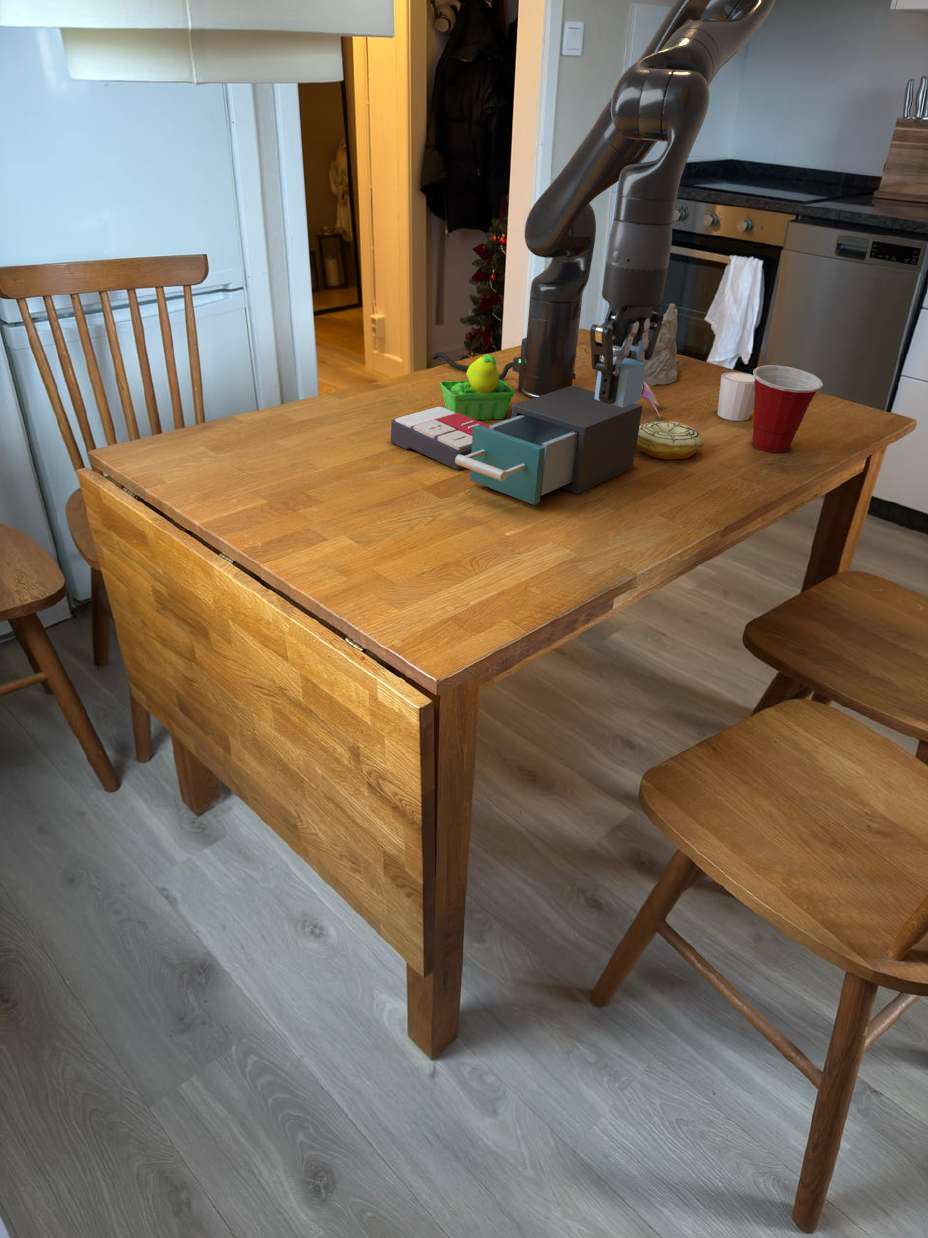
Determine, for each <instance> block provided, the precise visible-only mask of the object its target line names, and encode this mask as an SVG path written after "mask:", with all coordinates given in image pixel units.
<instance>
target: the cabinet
mask: <svg viewBox="0 0 928 1238" xmlns="http://www.w3.org/2000/svg"><path fill="white" fill-rule="evenodd" d="M594 398H595V391H594V390H591V389H590V390H589V389H586V388H583V387H579V386H576V385H574V384H573V385H572V386H569V387H566V388H563V389H560V390H557V391H554V392H551V393H548V394H545V395H542V396H539V397H536V398H529V399H526V400H524V401H520V402H518V403H515V404H512V408H511V410H512V411H511V418H514V417H517V416H520V415H523V414H524V415H527V416H530V417H533V418H536V419H539V420H543V421H546V422H549V423H552V424H555V425H558V426H561V427H564V428H568V429H571V430H574V431H577V432H580V433H579V439H578V448H577V456H576V464H575V473H574V481H573V482H570V483H568V484H566V485H564V486H561V487H559V488H558V489H563V490H564V491H567V492H570V493H573V494H576V495H579V494H581V493H582V492H585V491H587V490H589V489H591V488H593V487H595V486H597V485H598V486H599V485H600V484H602V483H603V482H606V481H608V480H610V479H612V478H614V477H617V476H618V475H621V474H623V473H625V472H627V471H629V470H631V469H634V465H635V458H636V453H637V452H636V450H637V447H638V446H637V439H638V433H639V426H641V419H642V413H643V405H642V404H640V403H639V404H638V403H636V402H635V403H633V404H630V405H628V406H625V407H623V408H622V407H619V406H615V405H612V404H608V403H604V402H601V401H598V400H595V399H594Z"/></svg>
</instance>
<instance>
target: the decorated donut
mask: <svg viewBox="0 0 928 1238" xmlns="http://www.w3.org/2000/svg"><path fill="white" fill-rule="evenodd" d="M703 446H704V439H703V437H702V435H701V433H699V432H698V430H696V429H694V428H693V427H691V426H690V425H687V424H685V423H682V422H678V421H661V420H660V421H659V420H657V421H651V422H646V423H643V424H640V426H639V433H638V439H637V446H636V447H637V448H638V449H639V450H640V452H642V453H644V454H646V455H648V456H650V457H652V458H657V459H663V460H668V461H670V460H684V459H687V458H690V457H692V456H693V455H694V454H695V453H697V452H698V451H699V449H701V448H703Z"/></svg>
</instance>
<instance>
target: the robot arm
mask: <svg viewBox="0 0 928 1238" xmlns="http://www.w3.org/2000/svg"><path fill="white" fill-rule="evenodd" d="M775 3H776V0H675V1H674V2H673V3H672V5H671V8H670V9H669V11H668V13H667V14H666V16H665V17H664V19H663V21H662V22H661V24H660V26H659V28H657V31H656V32H655V34H654V36H653V38H652V39H651V41H650V42H649V44H648V45H647V47H646V48H645V50H644V51H643V53H642V54H641V56H640V57H639V58H638V60H637V61H636V62H634V63H633V64H632V65H631V66H629V67H628V68H627V69H626V70H625V72H624V73H623V74H622V75H621V76H620V78H619V79H618V81H617V84H616V86H615V88H614V90H613V93H612V97H611V98H610V99H609V101H608V102H607V103H606V105H605V106H604V108H603V110H602V111H601V113H600V114H599V116H598V117H597V119H596V121H595V122H594V124H593V126H592V127H591V129H590V130H589V132H588V134H587V135H586V136H585V137H584V139H583V140H582V142H581V143H580V145H579V146H578V148H577V149H576V151H575V152H574V153H573V154H572V156H571V158H570V159H569V161H568V162H567V163H566V165H565V166H564V167H563V169H562V170H561V171H560V172H559V174H558V175H557V177H555V179H554V180H553V181H552V182H551V183H550V185H548V187H547V188H546V189H545V190H544V191H543V193H542V194H540V195H541V196H539V198H538V199H536V201H535V203H534V204H533V206H532V207H531V209H530V210H529V212H528V215H527V217H526V221H525V224H524V230H523V231H524V235H523V236H524V242H525V245H526V248H527V249H528V250H529V251H530V252H531V253H532V254H533V255H535V256H537V257H540V258H543V259H544V258H545V259H551V261H550V263H549V264H548V266H547V267H546V268H545V269H544V270H543V271H542V272H540V273H539V274H538V275H536V276H535V277H534V278H533V279H532V280H531V283H530V291H529V303H528V305H529V306H528V319H527V330H526V337H524V338H522V339H521V344H520V345H521V346H520V347H521V348H520V356H516V357H513V358H512V359H513V360H512V361H511V362H508V363H507V364H505V366H504V367H503V370H502V372H501V373H499V380H503V379H505V378H506V377H507V375H508V372H509V370H510V369H512V371H513V372H515V373H518V383H517V391H518V392H521V393H522V394H523V395H524V396H526V397H529V398H530V399H533V398H536V397H539V396H542V395H545V394H548V393H551V392H554V391H557V390H560V389H563V388H566V387H569V386H572V385H573V386H574V381H576V377H577V374H576V373H575V367H576V358H577V350H578V349H577V348H578V342H579V341H578V340H579V333H580V332H579V331H580V322H581V311H582V303H583V296H584V292H585V291H584V290H585V288H586V286H587V285H588V282H589V279H590V274H591V269H592V268H591V267H592V261H593V256H594V250H595V243H596V235H597V220H596V219H597V218H596V214H595V210H594V208H593V206H592V205H591V202H592V201H593V200H595V199H596V198H597V197H598V196H599V195H601V194H602V193H604V192H605V191H607V190H608V189H609V188H611V187H612V186H614V185H615V184H616V183H617V189H616V197H615V206H614V213H613V220H612V224H611V229H610V233H609V237H608V243H607V251H606V259H605V265H604V273H603V282H602V289H601V297H602V299H603V300H605V301H606V302H607V303H608V309H607V312H606V315H605V318H604V322H602V323H601V324H600V325H599V324H595V323H594V324H592V325H591V327H590V329H589V334H590V335H589V336H590V357H591V369H592V370H594V371H597V372H598V371H600V372H601V383H600V390H599V400H600V401H601V402H604V403H608V404H612V403H614V402H615V401H616V395H617V388H618V381H619V373H620V370H621V366H622V363H623V360H624V358H628V359H632V360H636V361H640V362H644V363H645V360H650V359H651V358H652V355H653V352H654V348H655V345H656V342H657V338H658V335H659V332H660V328H661V325H662V322H663V318H664V316H663V315H664V314H663V313H660V312H657V311H653V307H655V306H658V305H660V304H661V303H662V301H663V300H664V293H665V287H666V281H667V274H668V269H669V263H670V257H671V250H672V243H673V242H672V241H673V225H674V224H673V223H674V219H675V212H676V206H677V201H678V193H679V189H680V185H681V181H682V180H681V179H682V177H683V174H684V171H685V167H686V165H687V163H688V159H689V157H690V155H691V151H692V149H693V147H694V144H695V143H696V139H697V138H698V135H699V134H700V131H701V128H702V126H703V124H704V122H705V119H706V116H707V114H708V110H709V105H710V85H711V84H712V82H713V80H714V79H715V77H716V76H717V74H718V73H719V72H720V70H721V69H722V68H723V67H724V66H726V65H727V63H729V62H730V61H731V60H732V59H733V58H734V57H735V56H736V55H737V54H738V53H739V52H740V51H741V50H742V49H743V48H744V47H745V46H746V45H747V43H749V41H750V40H751V39H752V38H753V37H754V35H755V34H756V33H757V32H758V30H759V29H760V28H761V26H762V25H763V24H764V22H765V21H766V20H767V17H769V15H770V13H771V11H772V9H773V7H774V5H775ZM658 142H664V143H665V142H666V145H665V148H664V151H663V152H662V154H661V155H660V156H659V157H658V158H657V159H654V160H651V161H646V162H645V161H644V160H645V159H646V158H647V157H648V155H649V153H651V151H652V149H653V148H654V147H655V145H657V143H658ZM643 161H644V162H643ZM648 329H651V330H648ZM648 340H649V343H648ZM613 345H614V346H618V347H622V348H621V349H620V350H617V349H613ZM613 355H615V356H616V359H615V362H614V365H613ZM438 358H442V359H443V360H444V361H445V362H446V363H447V364H448V365H449V366H451V367H452V368H454V369H456V370H460V371H465V372H467V370H468V368H469V366H470V365H465V364H461V363H458V362H455V361H454V360H452V359H451V358H450V357H449V356H448V355H447V354H445V353H444V352H442V351H437V352H435V353H434V354H433V355H432V356H431V357H430V360H437V359H438Z"/></svg>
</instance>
